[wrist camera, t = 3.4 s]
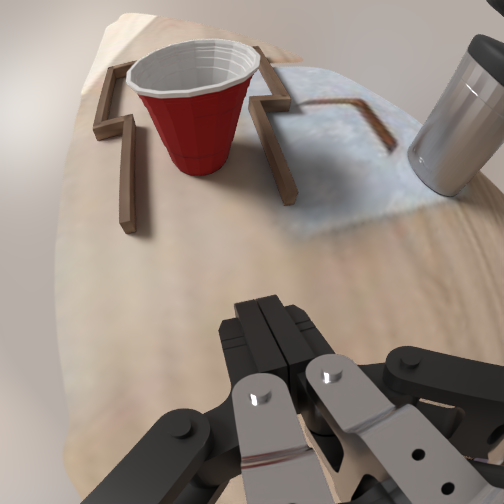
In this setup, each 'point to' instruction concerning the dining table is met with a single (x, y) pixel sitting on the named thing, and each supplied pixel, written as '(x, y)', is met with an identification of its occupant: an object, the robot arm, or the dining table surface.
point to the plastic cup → (195, 98)
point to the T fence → (128, 129)
